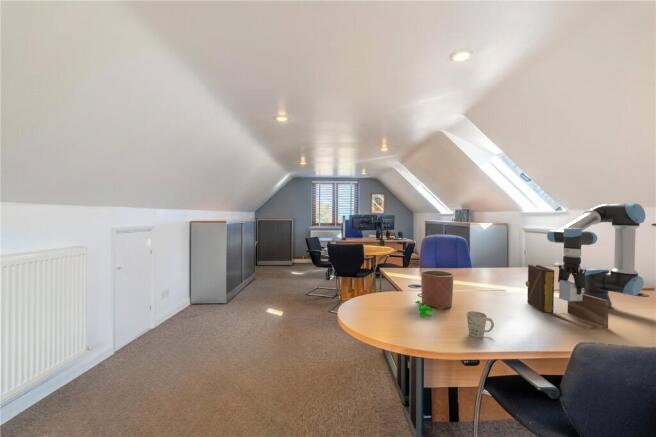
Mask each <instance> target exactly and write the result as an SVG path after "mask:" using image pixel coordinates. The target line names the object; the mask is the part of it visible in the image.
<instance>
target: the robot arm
mask: <svg viewBox="0 0 656 437" xmlns="http://www.w3.org/2000/svg"><path fill="white" fill-rule="evenodd" d="M645 219H646V211H645V209H644V208H643V206H642V205H641V204H640V203H635V202H633V203H632V202H625V203H624V202H621V203H603V204H599V205H596V206H593V207H592V208H589V209H588V210H585V211H584V212H583V213H582V215H580V216H579V217H577V218H576V219H573V220H572V221H570V222H569V223H567V224H566V225H563V226H562V227H561V228H558V229H550V230H549V231H548V232H547V234H546V238H547V241H549V242H551V243H557V244H558V243H559V244H563V247H562V248H563V252H562V255H563V257H562V262H563V264H559V265H558V277H557V278H558V279H557V282H558V283H559V282H560V281H561V280H569V278H570V275H571V276H573V277H572V278H573V281H575V285H576V287H575V288H574V300H580V294H581V289H582V288H583V294H586V295H590V296H593V297H597V298H601V299H604V300H608V301H609V309H610V308H612V307H613V304H612V301H611V297H610V295H609V292H612V293H617V294H623V295H628V296H636V295H639V294H640V292H642V290H643V288H644V282H645V281H644V278H643V277H641V276H640V275H639V272H638V271H637V270H636V269H635V266H636V265H635V262H636V230H637V228H639V227H640V225H641V224H642V223H644V222H645ZM600 223H611V227H612V228H614V257H613V258H614V260H613V262H614V263H613V266H614V267H613V268H611V269H610V270H609V269H608V268H586V269H585V268H581V264H582V258H581V257H582V246H591V245H594V244H596V243H597V241H598V236H597V234H596V233H594V231H593V232H592V231H589V230H588V231H587V230H586V229H588V228H589V227H591V226H594V225H598V224H600Z"/></svg>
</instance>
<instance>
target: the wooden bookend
mask: <svg viewBox="0 0 656 437" xmlns="http://www.w3.org/2000/svg"><path fill="white" fill-rule="evenodd" d="M609 309H610V308H609V301H608V300H604V299H601V298H597V297H593V296H590V295H586V294H583V300H582V301H576V302H569V301H567V312H553V313H551V316H553V317H555V318H558V319H561V320H562V321H565V322H568V323H571V324H573V325H575V326H578V327H580V328H583V329H586V330H594V329H595V330H597V329H598V330H599V329H608V328H609Z"/></svg>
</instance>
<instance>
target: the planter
mask: <svg viewBox="0 0 656 437" xmlns="http://www.w3.org/2000/svg"><path fill="white" fill-rule="evenodd" d="M454 277H455V276H454V273H452V272H448V271H445V270H444V271H443V270H436V269H435V270H430V269H429V270H422V271H421V272H420V278H421V279H420V281H421V282H420V284H421V305H425V304H426V305H427V307H431V308H435V309H437V310H442V309H447V308H451V307H452V305H453V294H454V292H453V291H454Z"/></svg>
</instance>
